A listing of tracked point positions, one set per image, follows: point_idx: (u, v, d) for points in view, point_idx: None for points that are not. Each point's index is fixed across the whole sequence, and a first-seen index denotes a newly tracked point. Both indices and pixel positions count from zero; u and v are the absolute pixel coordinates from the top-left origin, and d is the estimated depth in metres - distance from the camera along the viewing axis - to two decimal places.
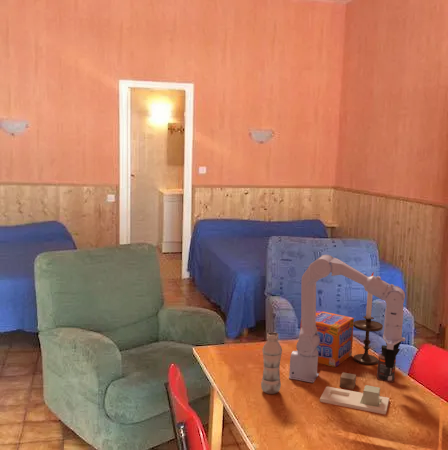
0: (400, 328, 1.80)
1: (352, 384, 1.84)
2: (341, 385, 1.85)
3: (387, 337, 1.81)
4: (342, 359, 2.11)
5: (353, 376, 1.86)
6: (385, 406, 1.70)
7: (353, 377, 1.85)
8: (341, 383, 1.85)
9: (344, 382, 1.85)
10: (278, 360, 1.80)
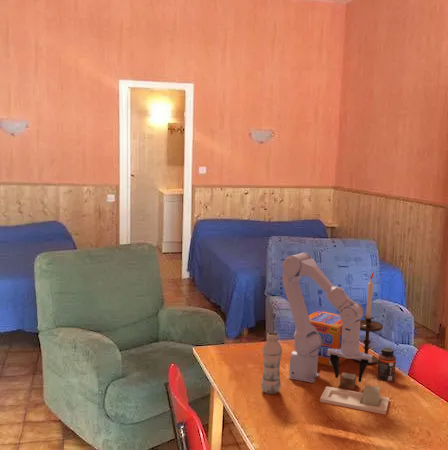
0: (344, 343, 1.83)
1: (352, 384, 1.84)
2: (341, 385, 1.85)
3: None
4: (342, 359, 2.11)
5: (353, 376, 1.86)
6: (385, 406, 1.70)
7: (353, 377, 1.85)
8: (341, 383, 1.85)
9: (344, 382, 1.85)
10: (278, 360, 1.80)
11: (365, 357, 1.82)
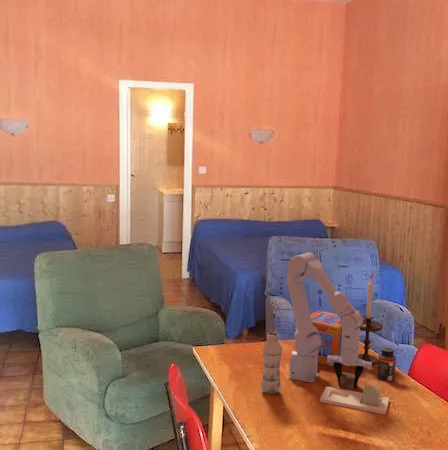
0: (344, 350, 1.83)
1: (352, 384, 1.84)
2: (341, 385, 1.85)
3: None
4: None
5: (353, 376, 1.86)
6: (385, 406, 1.70)
7: (353, 377, 1.85)
8: (341, 383, 1.85)
9: (344, 382, 1.85)
10: (278, 360, 1.80)
11: (364, 364, 1.82)
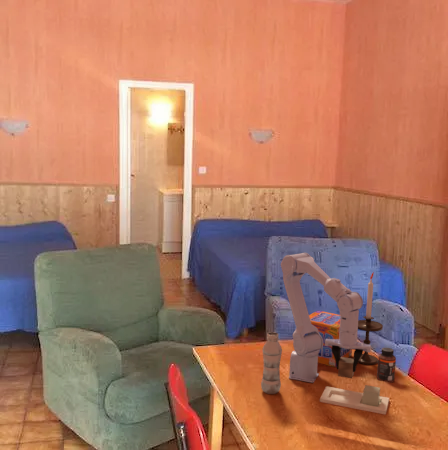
0: (342, 333, 1.79)
1: (351, 368, 1.79)
2: (340, 369, 1.81)
3: None
4: None
5: (352, 360, 1.82)
6: (385, 406, 1.70)
7: (352, 361, 1.81)
8: (340, 367, 1.81)
9: (343, 367, 1.80)
10: (278, 360, 1.80)
11: (363, 347, 1.78)
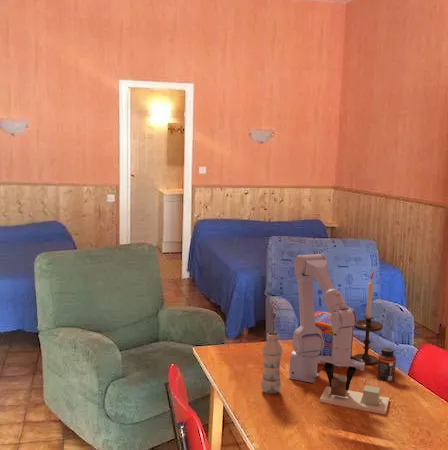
0: (335, 350, 1.73)
1: (344, 387, 1.74)
2: (332, 388, 1.75)
3: None
4: None
5: (345, 378, 1.76)
6: (385, 406, 1.70)
7: (345, 379, 1.75)
8: (332, 386, 1.75)
9: (335, 385, 1.75)
10: (278, 360, 1.80)
11: (357, 365, 1.72)
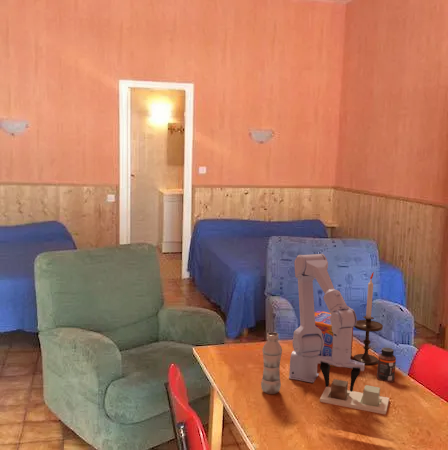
0: (335, 350, 1.73)
1: (344, 392, 1.74)
2: (332, 393, 1.75)
3: None
4: None
5: (345, 383, 1.76)
6: (385, 406, 1.70)
7: (345, 384, 1.75)
8: (332, 390, 1.75)
9: (335, 390, 1.75)
10: (278, 360, 1.80)
11: (357, 365, 1.72)
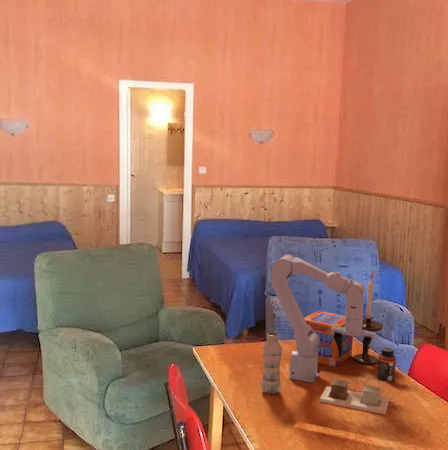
0: (348, 321, 1.86)
1: (344, 392, 1.74)
2: (332, 393, 1.75)
3: None
4: (342, 359, 2.11)
5: (345, 383, 1.76)
6: (385, 406, 1.70)
7: (345, 384, 1.75)
8: (332, 390, 1.75)
9: (335, 390, 1.75)
10: (278, 360, 1.80)
11: (368, 334, 1.85)
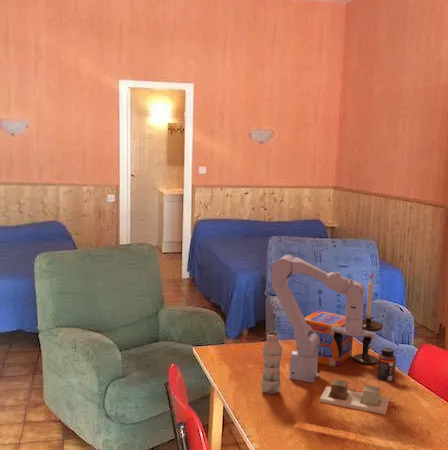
0: (348, 321, 1.86)
1: (344, 392, 1.74)
2: (332, 393, 1.75)
3: None
4: (342, 359, 2.11)
5: (345, 383, 1.76)
6: (385, 406, 1.70)
7: (345, 384, 1.75)
8: (332, 390, 1.75)
9: (335, 390, 1.75)
10: (278, 360, 1.80)
11: (368, 334, 1.85)
